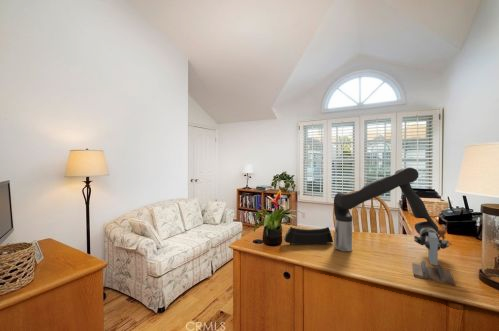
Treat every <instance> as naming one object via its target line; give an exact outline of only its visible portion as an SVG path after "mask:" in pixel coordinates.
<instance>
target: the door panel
mask: <svg viewBox="0 0 499 331" xmlns="http://www.w3.org/2000/svg"><path fill="white" fill-rule="evenodd" d="M428 241H429V244H430V249H428V248H427V249H428V250H427V251H428V252H427V253H428V254H427V255H428V256H427V257H428V261H429V264H431V265H437V264H438V262H439V260H438V254H439V253H438V252H439V251H438V238H437V235H436V233H432V232H429V239H428Z"/></svg>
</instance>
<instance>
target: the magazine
mask: <svg viewBox="0 0 499 331" xmlns="http://www.w3.org/2000/svg"><path fill="white" fill-rule="evenodd" d="M284 242H285V243H287V244H289V245H291V246H292V245H300V246H319V245H324V244H330V243H334V238H333V236H332V233H331V231H330V228H329V226H327V227H324V228H315V229H314V228H313V229H304V228H303V229H302V228H296V227H293V226H290V227H289V228H288V229H287V232H286V233H285V236H284Z"/></svg>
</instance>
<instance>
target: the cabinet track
mask: <svg viewBox="0 0 499 331" xmlns="http://www.w3.org/2000/svg"><path fill="white" fill-rule="evenodd" d="M412 272H413V277H414V278H420V279H424V280H428V281H432V282H436V283H441V284H444V285H449V286H453V287H456V285H457V284H456V281H455V279H454V277H453V274H452V272H451V271H450V270H448V269H443V267H442V265H441V264H439V263H437V265H436V266H435V267H434V266H428V265H427V263H426V261H425V260H420V263H416V262H415V263H414V262H412Z"/></svg>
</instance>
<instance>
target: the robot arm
mask: <svg viewBox="0 0 499 331" xmlns="http://www.w3.org/2000/svg"><path fill="white" fill-rule="evenodd" d="M418 178H419V171H418V170H417V169H416V168H414V167H411V166H410V167H404V168H400V169H397V170H396V171H395V172H394V173H393V174H392V175H387V176H383V177H380V178H377V179H375V180H372V181H370V182H367V183H366V184H364V185H363V187H362V188H360V189H359V190H356V191H354V192H351V193H345V192H341V191H340V192H337V193H336V194H335V195H334V198H333V214H334V216H335V221H334V222H335V225H334V226H335V230H334V234H333V236H334V237H333V244H334V245H333V246H334V248H333V249H336V250H338V251H341V252H351V251H352V250H353V216H352V214H351V212H350V210H352V209H354V208H355V207H358V206H359V205H361V204H363V203H364V202H366V201H369V200H372V199H374V198H377V197H380V196H382V195H384V194H386V193H388V192H390V191H393V190H394V189H396V188H398V187H399V188H400V190H401V192H402V193H403V195H404V197H405V198H406V200H407V202H408V204H409V207H410V210H411V213H412V214H413V217H414V218H416V219H424V220H425V221H419V222H416V223H415V224H414V230H415V231H416V233H417V234H418V235H419V236H416V235H415V236H413V237H414V238H413V239H414V242H416V243H417V244H419V245H420V246H424V247H425V248H426V249H430V244H429V241H428V239H429V232H432V233H436V235H437V238H438V252H440V250H441V249H443V250H444V249H447V248H448V247H449V246H450V241H449V240H443V241H442V238H441V237H440V238H439V235H438V234H437V232H438V229H439V227H438V225H437V224H436V222H435V221H434V220H433V218H432V217H431V216H430V214H429V212H428V210H427V208H426V204H425V203H424V201H423V200H422V198H421V197H420V196H419V194H417V193H416V192H415V191H414V189H413V187H412V185H411V184H412V183H414V182H415V181H416V180H418Z"/></svg>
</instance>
